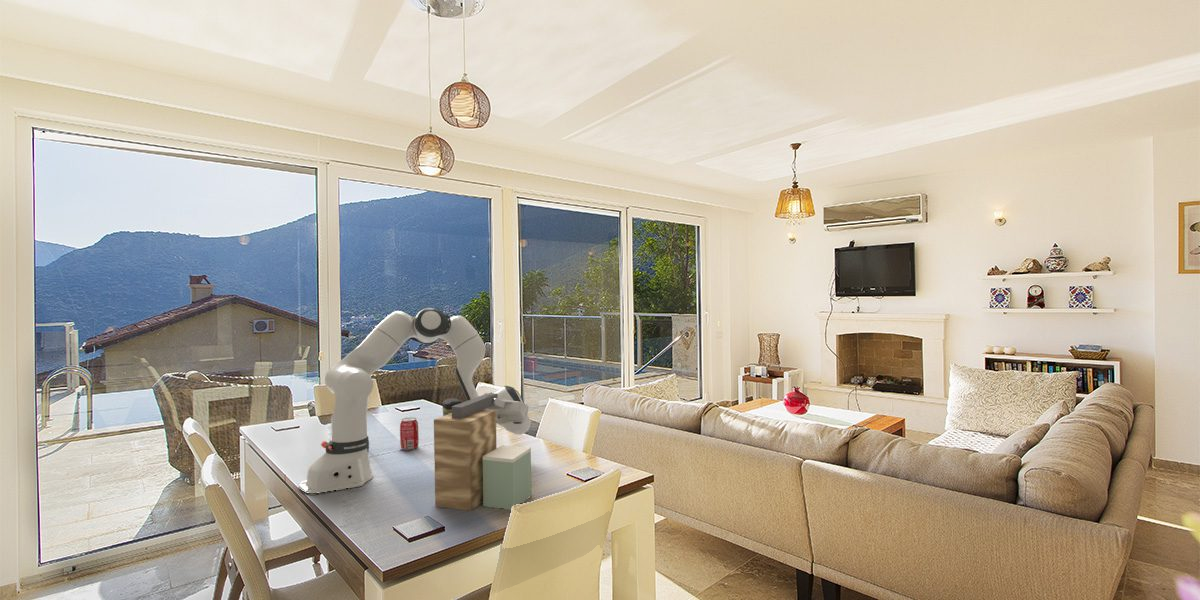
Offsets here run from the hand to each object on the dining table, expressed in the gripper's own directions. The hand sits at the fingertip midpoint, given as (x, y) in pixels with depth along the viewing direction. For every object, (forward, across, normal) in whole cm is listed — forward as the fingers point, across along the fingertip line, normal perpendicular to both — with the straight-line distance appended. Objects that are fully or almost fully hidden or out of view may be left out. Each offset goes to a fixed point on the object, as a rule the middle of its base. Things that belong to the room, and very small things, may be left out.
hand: (487, 400), depth 184 cm
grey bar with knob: (+5, 0, +5) cm, 7 cm away
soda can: (-38, -52, +11) cm, 65 cm away
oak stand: (-2, 0, +31) cm, 31 cm away
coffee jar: (-48, -39, +5) cm, 62 cm away
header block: (-4, +13, +30) cm, 33 cm away
